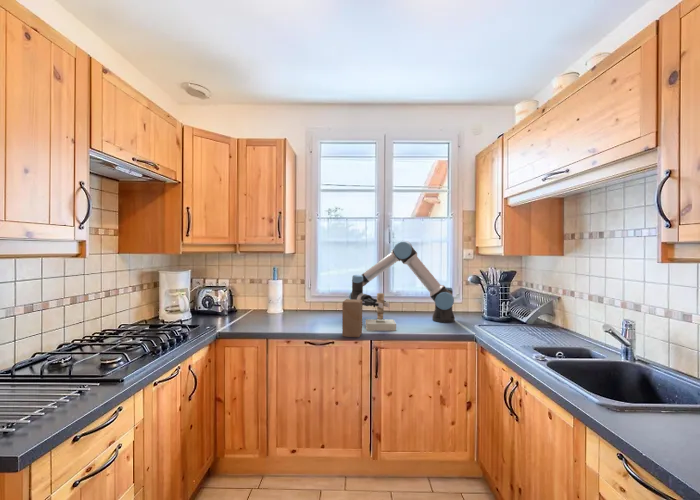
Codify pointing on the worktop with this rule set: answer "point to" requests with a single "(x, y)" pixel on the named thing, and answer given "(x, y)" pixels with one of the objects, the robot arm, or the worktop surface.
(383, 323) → the socket block
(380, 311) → the beech leg
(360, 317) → the wooden block
